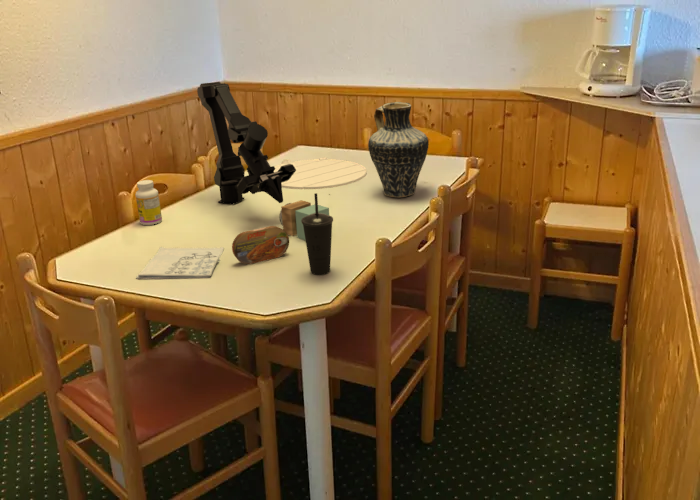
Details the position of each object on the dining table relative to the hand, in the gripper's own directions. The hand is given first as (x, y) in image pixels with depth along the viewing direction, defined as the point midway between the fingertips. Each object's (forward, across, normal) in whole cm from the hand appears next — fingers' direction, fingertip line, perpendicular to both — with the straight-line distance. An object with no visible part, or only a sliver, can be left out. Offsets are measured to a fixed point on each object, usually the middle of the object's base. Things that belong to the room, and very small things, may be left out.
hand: (281, 202), depth 192 cm
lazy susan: (-19, -46, -31) cm, 58 cm away
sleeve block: (+10, 0, -1) cm, 10 cm away
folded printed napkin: (+6, +35, -5) cm, 36 cm away
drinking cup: (+28, +16, +18) cm, 37 cm away
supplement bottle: (-19, +23, -30) cm, 43 cm away
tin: (+16, +20, +5) cm, 26 cm away
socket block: (+15, 0, +4) cm, 15 cm away
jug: (+10, -45, -1) cm, 46 cm away
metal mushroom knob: (+12, 0, +1) cm, 12 cm away
